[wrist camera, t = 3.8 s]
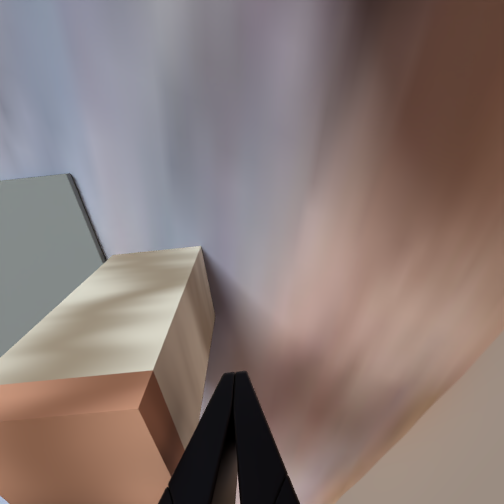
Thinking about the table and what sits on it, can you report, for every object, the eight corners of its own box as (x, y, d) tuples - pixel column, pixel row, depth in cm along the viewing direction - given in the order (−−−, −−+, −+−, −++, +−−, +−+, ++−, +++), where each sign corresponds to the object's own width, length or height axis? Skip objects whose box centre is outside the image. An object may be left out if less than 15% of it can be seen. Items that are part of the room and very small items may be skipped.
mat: (70, 173, 12) (66, 174, 11) (150, 371, 18) (149, 375, 17) (-192, 201, 12) (-202, 202, 12) (-24, 388, 18) (-28, 392, 18)
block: (201, 246, 14) (137, 409, 5) (215, 315, 16) (185, 506, 8) (112, 255, 14) (-79, 429, 6) (139, 323, 16) (29, 520, 8)
